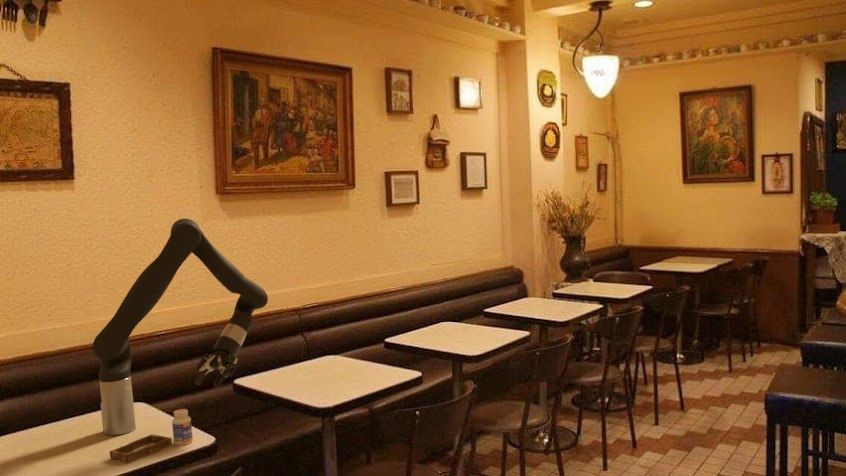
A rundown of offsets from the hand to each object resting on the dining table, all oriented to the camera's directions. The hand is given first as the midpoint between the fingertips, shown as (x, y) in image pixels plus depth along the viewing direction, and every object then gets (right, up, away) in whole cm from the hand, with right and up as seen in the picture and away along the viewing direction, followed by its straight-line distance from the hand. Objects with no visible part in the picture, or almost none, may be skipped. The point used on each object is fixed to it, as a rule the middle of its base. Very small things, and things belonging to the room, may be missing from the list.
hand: (206, 385), depth 218 cm
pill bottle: (-4, -16, -8) cm, 18 cm away
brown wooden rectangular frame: (-15, -17, -13) cm, 26 cm away
